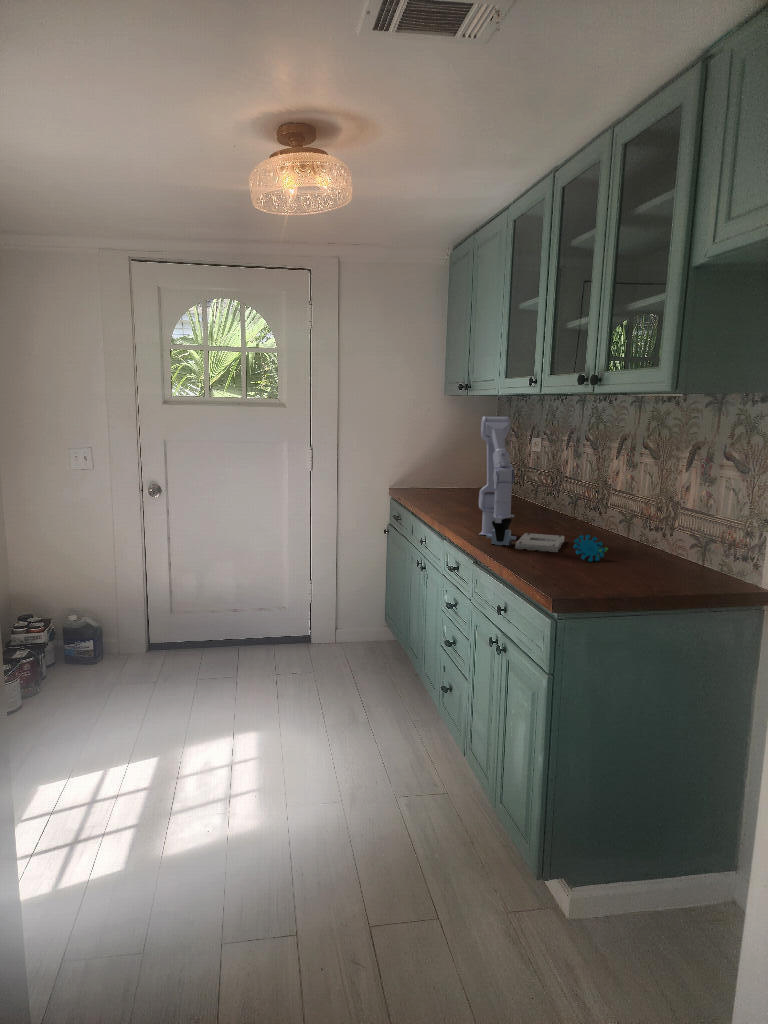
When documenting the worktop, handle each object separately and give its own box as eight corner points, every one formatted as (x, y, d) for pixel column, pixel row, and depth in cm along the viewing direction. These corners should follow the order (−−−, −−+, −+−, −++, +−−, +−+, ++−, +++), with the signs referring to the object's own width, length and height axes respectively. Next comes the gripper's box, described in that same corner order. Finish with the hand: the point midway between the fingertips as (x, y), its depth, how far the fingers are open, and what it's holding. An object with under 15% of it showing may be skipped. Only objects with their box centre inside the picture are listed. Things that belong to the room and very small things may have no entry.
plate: (524, 538, 250) (525, 532, 249) (564, 541, 245) (564, 535, 244) (515, 548, 231) (515, 542, 231) (557, 552, 226) (557, 545, 226)
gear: (575, 557, 212) (573, 531, 218) (569, 567, 217) (567, 541, 222) (610, 562, 212) (607, 536, 218) (603, 572, 217) (600, 546, 223)
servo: (488, 542, 242) (488, 527, 242) (516, 544, 239) (516, 529, 238) (485, 544, 239) (486, 529, 238) (514, 546, 235) (514, 531, 234)
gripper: (510, 505, 228) (508, 544, 231) (517, 499, 242) (516, 537, 244) (489, 504, 231) (488, 543, 233) (498, 498, 244) (496, 535, 246)
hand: (501, 540), depth 239 cm, fingers closed on servo, 4 cm apart
